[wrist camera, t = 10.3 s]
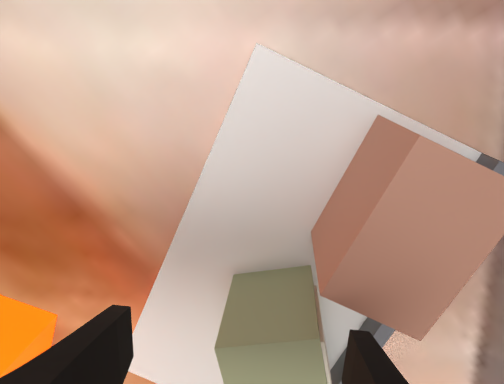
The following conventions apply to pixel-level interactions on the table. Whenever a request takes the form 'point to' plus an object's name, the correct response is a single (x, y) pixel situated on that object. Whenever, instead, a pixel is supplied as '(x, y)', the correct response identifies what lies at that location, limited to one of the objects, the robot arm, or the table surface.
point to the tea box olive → (273, 330)
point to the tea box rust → (406, 228)
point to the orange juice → (23, 333)
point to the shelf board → (262, 213)
